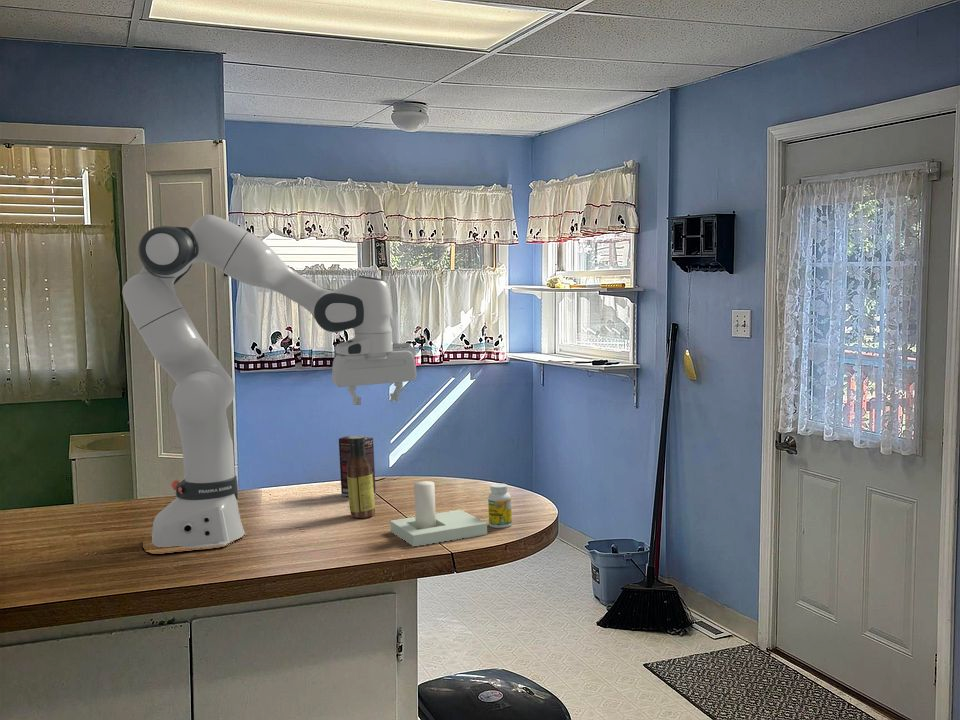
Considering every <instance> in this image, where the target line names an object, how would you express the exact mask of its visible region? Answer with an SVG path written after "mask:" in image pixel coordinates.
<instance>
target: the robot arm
mask: <svg viewBox="0 0 960 720" xmlns="http://www.w3.org/2000/svg"><path fill="white" fill-rule="evenodd" d="M137 248H138V250H137V251H138V256H139V259H140V262H141V264H142V268H141V270H140V271H139V272H138V273H137V274H135V275H133V276H130V277H129V279H128V280H127V281H126V282H125V283H124V285H123V287H122V291H121V292H122V297H123V301H124V303H125V306H126V308H127V311H128V313H129V315H130V317H131V320H132V321H133V323H134V325H135V327H136V330H137V331H138V333H139V335H140V336H141V338H142V340H143V341H144V343H145V345H146V347H147V348H148V349H149V351H150V354H151V355H152V357H153V358H154V360H155V361H156V363H157V365H158V364H159V365H160V366H161V367H162V368H163V369H164V370H165V371H166V373H167V374H168V375H169V376H170V377H171V379H172V380H173V382H175V384H176V386H175V388H174V390H173V393H172V397H171V404H172V405H171V406H172V408H173V410H174V413H175V418H176V424H177V429H178V433H179V436H180V440H181V441H180V442H181V446H182V447H181V448H182V459H183V476H184V479H183V480H181V481H179V480H177V479H175V480H172V482H171V488H172V489H173V490H174V491H175V496H176V497H175V498H174V499H173V500H172V501H171V502H169V504H168V505H166V506H165V507H164V508H163V509H162V510H161V511H159V512H158V513H157V514H156V516H155V517H154V520H153V523H152V529H151V535H152V543H153V544H154V545H155V546H157V547H171V546H183V547H185V548H190V547H191V548H195V547H206V546H208V547H209V546H219V545H226V544H227V543H229V542H230V541H233V540H236V539H238V538H240V537H242V536H243V535H244V534H245V535H246V531H245V530H244V526H243V523H242V520H241V515H240V511H239V504H238V499H239V484H238V477H237V475H236V474H235V473H236V472H235V458H234V456H235V455H234V442H233V439H232V436H231V432H230V426H229V422H228V416H227V409H228V407H229V406H230V405H231V403H232V402H233V400H234V398H235V397H234V396H235V383H234V380H233V378H232V377H231V376H230V375H229V373H228V372H227V371H226V369H225V368H224V366H223V365H222V364H221V362H220V361H219V359H218V358H217V356H216V355H215V354H214V353H213V351H212V350H211V349H210V348H209V346H208V345H207V344H206V343H205V340H203V338H202V336H201V335H200V333H199V331H198V329H197V328H196V326H195V324H194V323H193V321H192V319H191V318H190V316H189V314H188V312H187V310H186V309H185V307H184V306H183V304H182V302H181V300H180V298H179V297H178V296H177V293H176V290H175V285H176V283H177V282H179V281H180V279H182V278H183V277H184V276H185V275H186V274H187V273H188V272H189V271H190V269H191V267H192V266H193V264H195V263H203V264H207V265H209V266H211V267H213V268H215V269H216V270H218V271H220V272H221V273H223V274H225V275H226V276H228V277H229V278H232V279H234V280H236V281H238V282H240V283H243V284H246V285H250V286H251V287H257V288H264V289H267V290H271V291H274V292H277V293H279V294H281V295H282V296H285V297H286V298H288V299H289V300H291V301H292V302H294V303H296V304H298V305H300V307H302V308H304V309H305V310H307V311H308V312H309V313H310V314H311V315H312V316H313V317H312V318H314V319H315V322H316V323H317V324H318V325H319V327H320V328H321V329H322V330H324V331H326V332H329V333H335V334H336V333H341V332H344V331H346V330H351V329H353V330H354V337H353V338H351V339H348V340H346V341H343V342H340V343H338V344H336V345H335V348H334V350H335V353H336V354H337V355H336V356H335V357H334V358H333V362H332V368H331V369H332V370H331V374H332V375H331V380H332V383H333V384H334V386H336V387H338V388H345V387H347V391H348V393H349V394H350V396H351V397H352V405H354V406H359V405H361V404H362V397H361V396H357V394H356V392H355V391H357V386H368V385H382V384H392V383H393V386H395V389H394V390H393V393H390V394H389V396H390V398H389V399H390V401H391V402H399V401H400V398H399V394H400V392H401V391H402V390H403V386H404V385H403V383H405V382H414V381H415V380H416V378H417V377H418V376H417V366H416V361H415V358H416V349H415V347H414V345H412V344H410V343H409V342H402V343H400V342H399V343H398V342H397V343H395V342H394V343H393V329H392V326H391V318H392V317H391V316H392V302H391V301H392V300H391V291H390V287H389V285H388V283H387V282H386V281H385V280H383V279H381V278H378V277H375V276H374V277H373V276H367V275H359V276H358V275H357V276H356V277H354V278H353V280H351V281H349V282H348V283H346V284H344V285H342V286H340V287H337V288H336V289H331V288H325V287H322V286H321V285H318V284H316V283H314V282H313V281H311V280H309V279H307V278H306V277H304V276H303V275H301V274H299V273H298V272H297V271H295V270H293V269H292V268H290V267H289V266H288V265H287V264H286V263H285V262H284V261H283V260H282V259H281V258H280V257H279V255H278V254H277V253H276V252H275V251H274V250H273V249H272V248H271V247H270V246H269V245H268V244H266V243H265V242H264V241H263V240H261V239H260V238H259V237H257V236H256V235H255V234H253V233H252V232H250V231H248V230H246V229H245V228H244V227H241V226H240V225H238V224H236V223H234V222H231V221H229V220H227V219H224V218H223V217H219V216H217V215H214V214H204V215H201V216H200V217H199V218H197V219H196V220H195V221H194V222H193V223H192V225H191V226H190V228H189V227H187V226H186V227H185V226H169V225H161V226H157V227H153V228H151V229H149V230H148V231H147V232H145V233H144V234H143V236H142V237H141V238H140V240H139V242H138V247H137Z"/></svg>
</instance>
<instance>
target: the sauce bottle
mask: <svg viewBox="0 0 960 720" xmlns="http://www.w3.org/2000/svg"><path fill="white" fill-rule="evenodd" d="M365 437H366V436H364V435H352V437H349V438H348V441H349V444H350V458H349V460H348V462H347V481H348V493H349V497H348V505H349V511H350V515H351V517H352V518H354V517H355V519H366V518H370V517H373V516H374V515H375V514H376V502H375V496H374V488H373V476H372V469H371V463H370V461H369V459H368V457H367V455H366V451H365Z"/></svg>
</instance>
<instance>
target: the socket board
mask: <svg viewBox="0 0 960 720" xmlns="http://www.w3.org/2000/svg"><path fill="white" fill-rule="evenodd" d="M435 513H436V527H433V528H427V529H420V530H417V529H416V521H415V516H413V517H406V518H399V519H393V520H390V521H389V524H390V533H391V534H393V533H394V534H393V535H395V536H396V535H397V536H396V537H398V536H399V537H400V538H399V537H398V538H399V539H401V538H402V539H403V540H402V539H401V540H402V541H404V540H405V541H406V543H407V542H408V543H410V544H411V545H412V547H413V546H418V547H420V546H419V545H424V546H427V545H426V544H429V545H433V544H432V543H435V544H440V543H439V542H441V543H444V541H447V542H451V541H450V540H452V541H457V539H458V540H462V538H464V539H469V538H474V537H480V536H486V535H488V523H487V522H485V521H484V520H483V519H482V520H481V519H480V518H477V517H475V516H474V515H472V514H470V513H467V512H466V511H464V510H462V509H456V510H450V511H443V512H435ZM405 541H404V542H405ZM408 543H407V544H408ZM410 544H409V545H410ZM411 545H410V546H411Z"/></svg>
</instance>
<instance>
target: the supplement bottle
mask: <svg viewBox="0 0 960 720" xmlns="http://www.w3.org/2000/svg"><path fill="white" fill-rule="evenodd" d="M508 487H509V485H508V484H506V483H500V482H499V483H493V484H490V487H489V488H490V489H489V490H490V492H491V493H489V495H488V497H487V504H488V505H487V506H488V507H487V508H488V524H489V527H491V528H494V529H505V528H509V527H511V526H512V523H513V516H512V514H513V513H512V496H511V494H510V493H509V492H508V490H509V489H508Z"/></svg>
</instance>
